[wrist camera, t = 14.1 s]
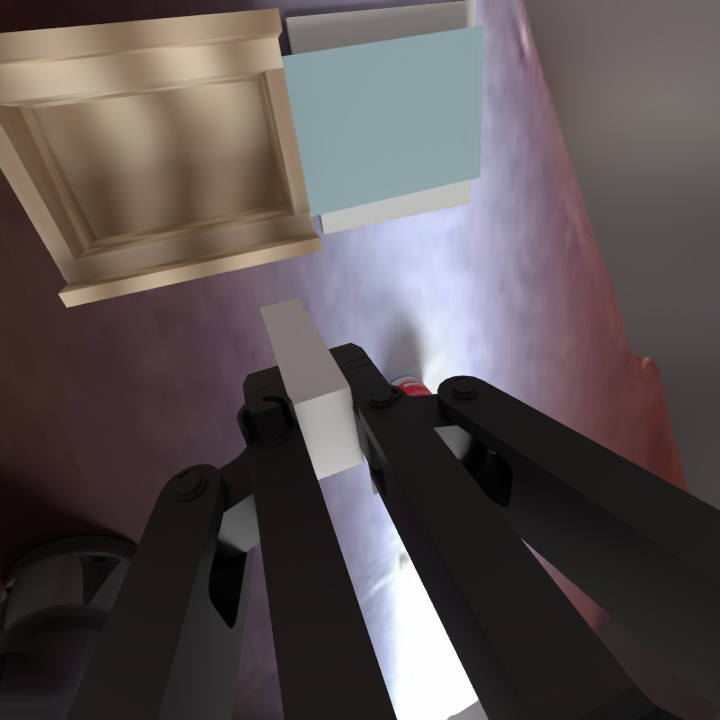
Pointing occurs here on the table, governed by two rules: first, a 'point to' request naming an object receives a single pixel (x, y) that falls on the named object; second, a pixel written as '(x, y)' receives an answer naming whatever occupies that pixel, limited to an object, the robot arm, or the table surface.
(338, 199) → the lid
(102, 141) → the box
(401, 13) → the mat
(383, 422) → the robot arm
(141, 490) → the table surface
